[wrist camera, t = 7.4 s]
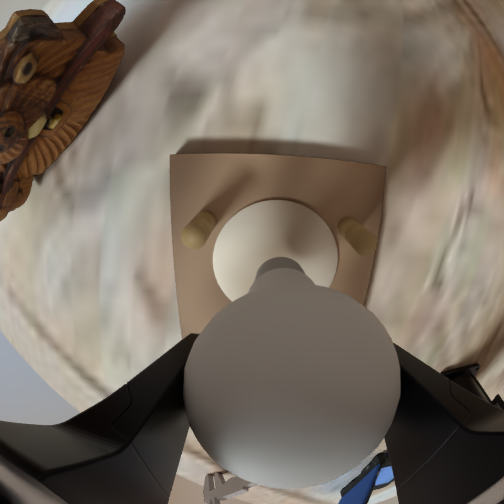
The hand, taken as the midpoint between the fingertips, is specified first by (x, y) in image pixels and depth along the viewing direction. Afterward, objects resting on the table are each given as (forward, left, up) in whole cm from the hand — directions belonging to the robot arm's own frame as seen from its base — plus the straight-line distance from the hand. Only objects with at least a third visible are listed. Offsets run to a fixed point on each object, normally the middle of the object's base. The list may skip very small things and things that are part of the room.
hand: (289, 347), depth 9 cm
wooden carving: (+14, -9, -9) cm, 19 cm away
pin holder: (0, 0, -8) cm, 8 cm away
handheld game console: (-18, +36, -9) cm, 41 cm away
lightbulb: (0, 0, -6) cm, 6 cm away
